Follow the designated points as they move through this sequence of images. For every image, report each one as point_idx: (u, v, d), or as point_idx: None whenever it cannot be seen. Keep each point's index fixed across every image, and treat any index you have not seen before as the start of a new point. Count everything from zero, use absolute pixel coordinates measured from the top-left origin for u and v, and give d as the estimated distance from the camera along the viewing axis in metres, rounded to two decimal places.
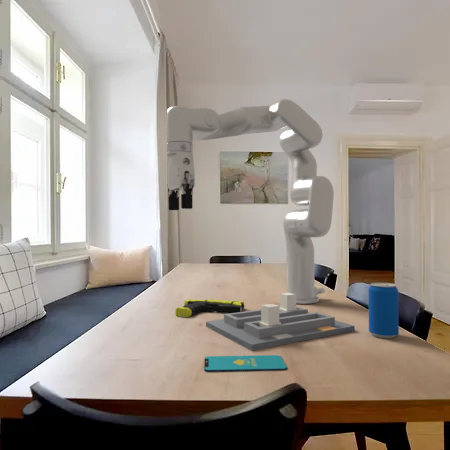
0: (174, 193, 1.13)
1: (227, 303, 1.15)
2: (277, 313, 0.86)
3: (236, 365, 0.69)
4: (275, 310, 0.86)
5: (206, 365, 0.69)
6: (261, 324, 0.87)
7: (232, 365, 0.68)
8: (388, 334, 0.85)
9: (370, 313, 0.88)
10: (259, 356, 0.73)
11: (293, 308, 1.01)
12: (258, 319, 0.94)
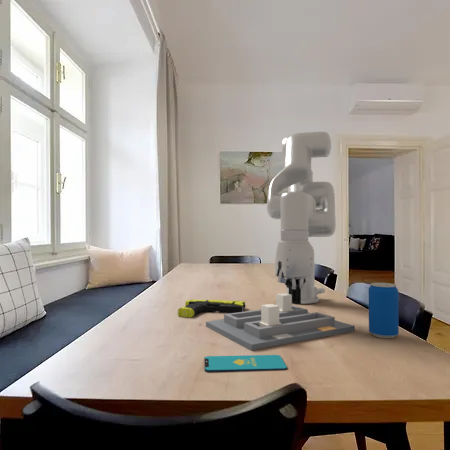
0: None
1: (229, 303, 1.16)
2: (277, 313, 0.86)
3: (236, 365, 0.68)
4: (275, 310, 0.86)
5: (206, 365, 0.68)
6: (261, 324, 0.87)
7: (232, 365, 0.68)
8: (388, 334, 0.85)
9: (370, 313, 0.88)
10: (258, 356, 0.73)
11: (289, 309, 1.01)
12: (258, 319, 0.94)
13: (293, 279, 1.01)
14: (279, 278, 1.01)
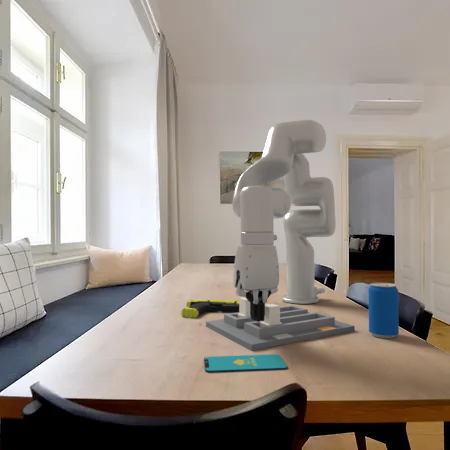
0: None
1: (231, 303, 1.16)
2: (278, 313, 0.87)
3: (236, 365, 0.68)
4: (276, 310, 0.86)
5: (206, 366, 0.68)
6: (262, 324, 0.87)
7: (232, 366, 0.68)
8: (388, 334, 0.85)
9: (370, 313, 0.88)
10: (258, 356, 0.73)
11: None
12: None
13: (255, 291, 0.84)
14: (237, 290, 0.83)
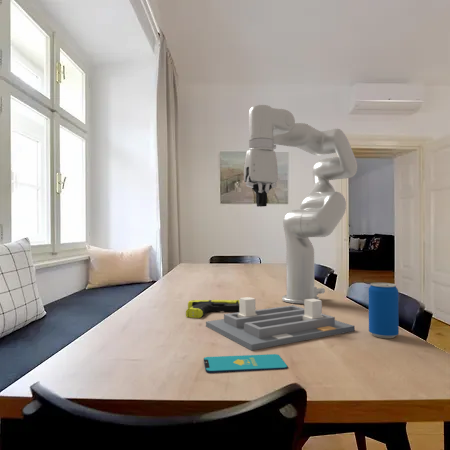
0: None
1: (233, 302, 1.16)
2: (320, 307, 0.93)
3: (237, 365, 0.68)
4: (318, 304, 0.92)
5: (207, 366, 0.68)
6: (305, 317, 0.93)
7: (233, 366, 0.68)
8: (388, 334, 0.85)
9: (370, 313, 0.88)
10: (257, 356, 0.74)
11: (252, 314, 0.95)
12: (258, 319, 0.94)
13: (259, 183, 1.13)
14: (247, 182, 1.13)
